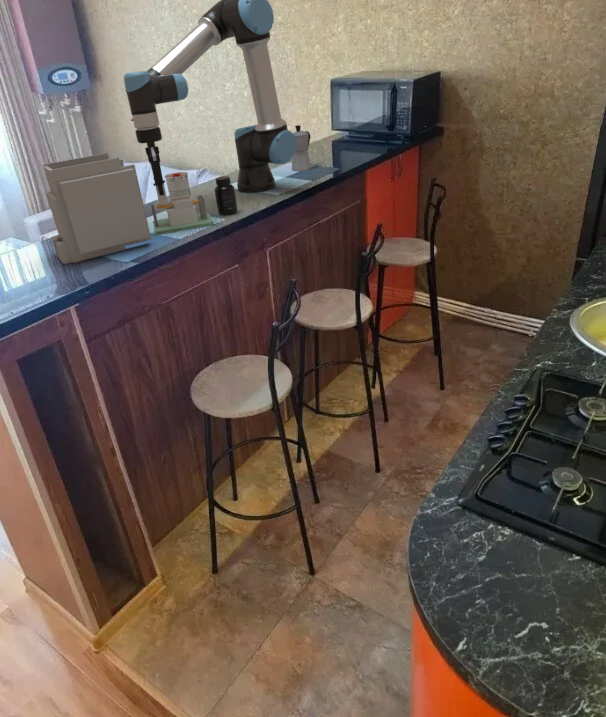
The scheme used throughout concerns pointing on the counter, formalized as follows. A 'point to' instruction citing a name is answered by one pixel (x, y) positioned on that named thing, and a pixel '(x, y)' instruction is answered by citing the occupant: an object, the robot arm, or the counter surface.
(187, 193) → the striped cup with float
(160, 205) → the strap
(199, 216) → the board
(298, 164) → the coffee maker
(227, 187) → the supplement bottle
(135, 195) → the grey layered block
